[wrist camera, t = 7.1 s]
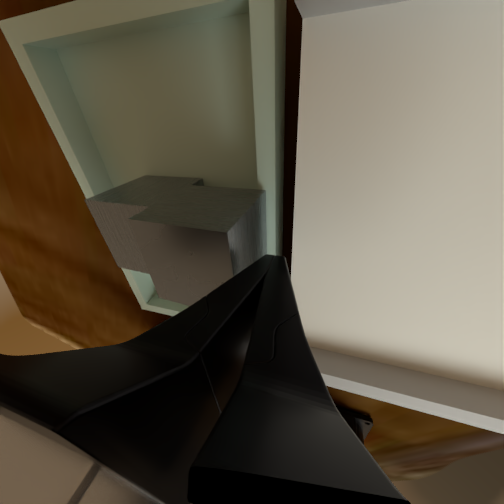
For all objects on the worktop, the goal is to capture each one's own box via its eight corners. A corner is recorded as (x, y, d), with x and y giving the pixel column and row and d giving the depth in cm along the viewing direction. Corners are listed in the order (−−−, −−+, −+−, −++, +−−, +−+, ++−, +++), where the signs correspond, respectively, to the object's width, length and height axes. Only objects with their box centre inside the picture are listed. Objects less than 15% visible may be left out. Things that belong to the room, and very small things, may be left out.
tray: (281, 318, 18) (275, 340, 16) (156, 293, 21) (142, 308, 20) (286, -24, 8) (274, -54, 6) (45, 31, 11) (-3, 21, 10)
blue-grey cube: (267, 262, 12) (238, 318, 9) (203, 251, 13) (159, 297, 10) (265, 190, 10) (227, 232, 7) (189, 185, 11) (127, 219, 8)
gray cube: (177, 280, 11) (118, 267, 13) (214, 240, 14) (163, 232, 16) (153, 207, 9) (84, 199, 10) (202, 178, 12) (145, 175, 13)
